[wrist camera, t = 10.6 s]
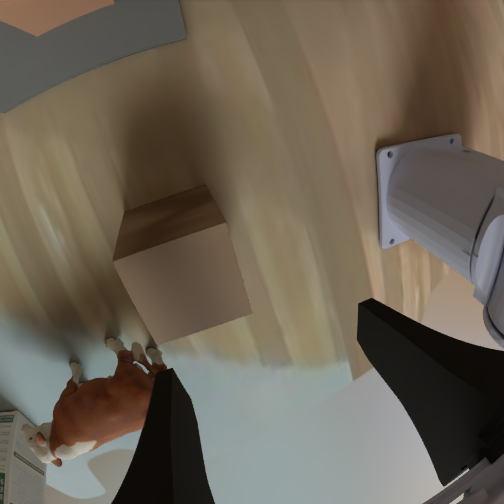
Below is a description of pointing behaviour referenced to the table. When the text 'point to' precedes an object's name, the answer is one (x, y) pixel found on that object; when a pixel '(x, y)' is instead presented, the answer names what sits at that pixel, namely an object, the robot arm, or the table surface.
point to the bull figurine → (97, 406)
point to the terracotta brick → (45, 13)
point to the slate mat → (82, 45)
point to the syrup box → (19, 464)
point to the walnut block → (180, 265)
